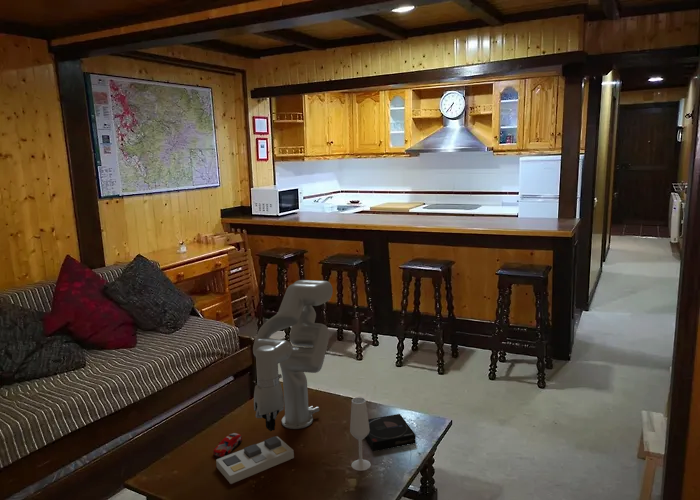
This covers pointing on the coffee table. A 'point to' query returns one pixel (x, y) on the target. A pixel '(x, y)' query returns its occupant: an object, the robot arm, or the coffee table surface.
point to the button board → (254, 461)
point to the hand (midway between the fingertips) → (270, 429)
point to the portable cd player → (389, 432)
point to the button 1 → (231, 460)
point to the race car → (227, 445)
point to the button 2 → (272, 443)
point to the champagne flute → (359, 429)
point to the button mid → (252, 450)
